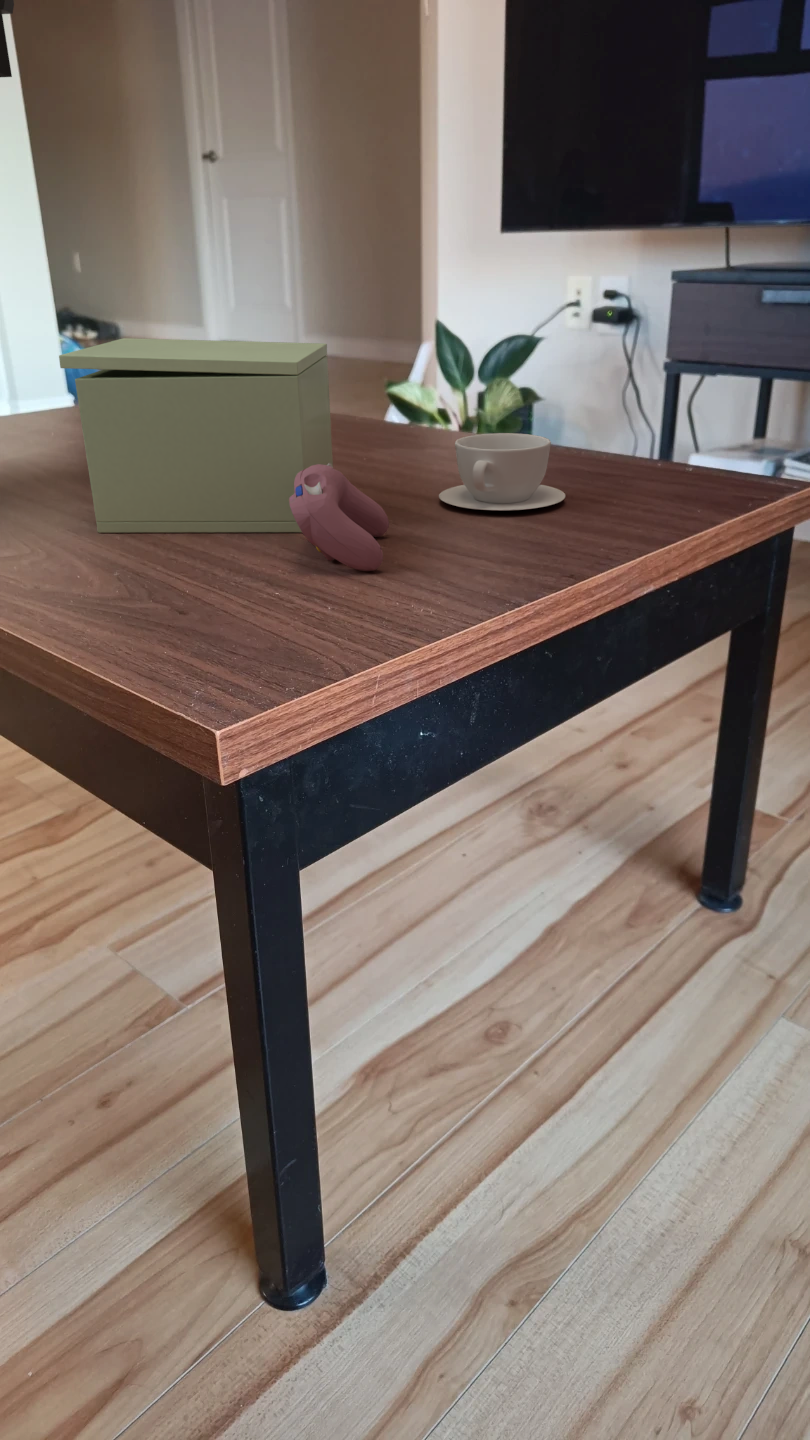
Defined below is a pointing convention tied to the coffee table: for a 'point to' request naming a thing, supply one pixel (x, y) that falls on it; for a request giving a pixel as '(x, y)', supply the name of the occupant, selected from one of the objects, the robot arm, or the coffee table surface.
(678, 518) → the coffee table surface
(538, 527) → the coffee table surface
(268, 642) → the coffee table surface
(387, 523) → the video game controller
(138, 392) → the storage chest
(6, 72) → the robot arm
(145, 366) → the chest lid
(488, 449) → the teacup
